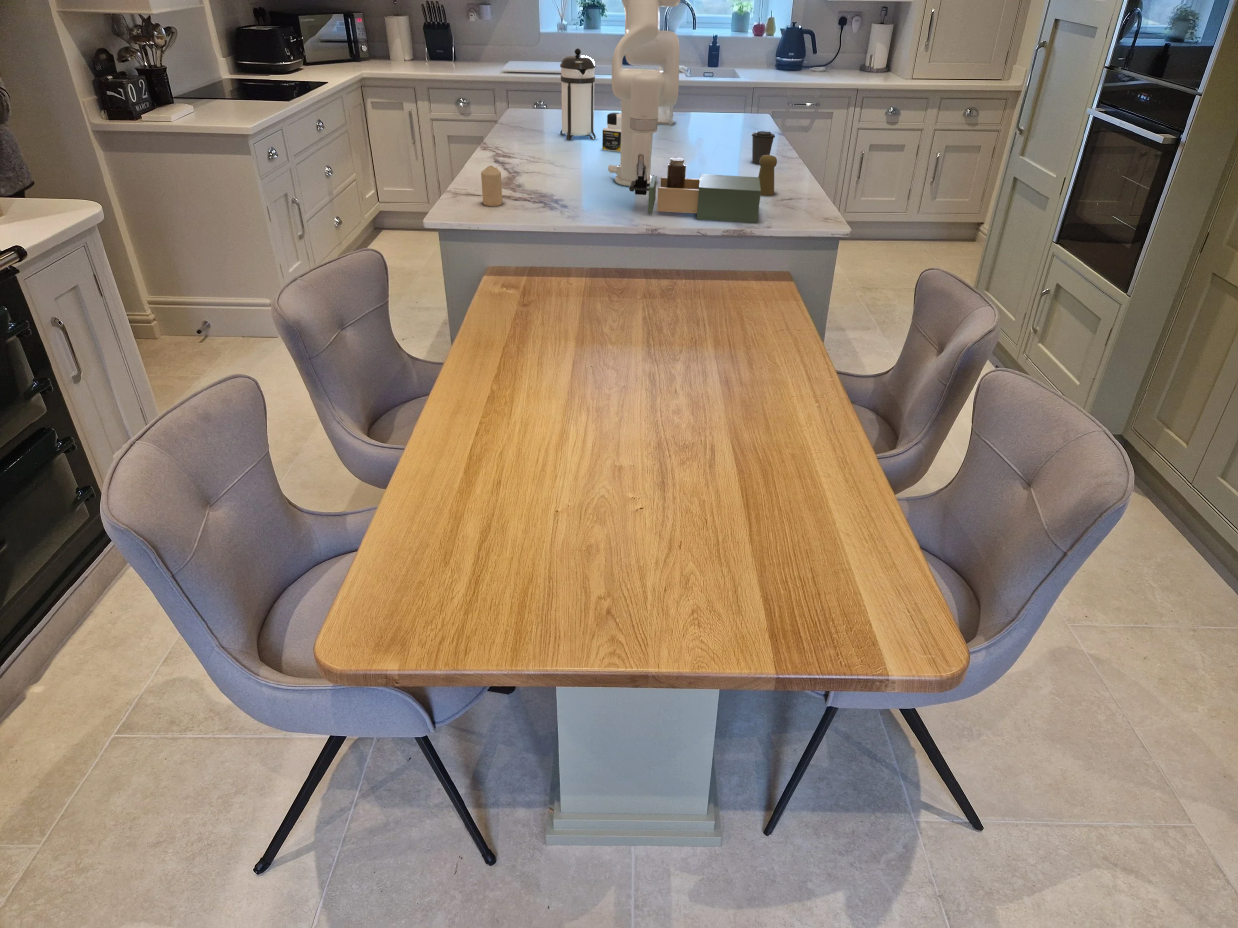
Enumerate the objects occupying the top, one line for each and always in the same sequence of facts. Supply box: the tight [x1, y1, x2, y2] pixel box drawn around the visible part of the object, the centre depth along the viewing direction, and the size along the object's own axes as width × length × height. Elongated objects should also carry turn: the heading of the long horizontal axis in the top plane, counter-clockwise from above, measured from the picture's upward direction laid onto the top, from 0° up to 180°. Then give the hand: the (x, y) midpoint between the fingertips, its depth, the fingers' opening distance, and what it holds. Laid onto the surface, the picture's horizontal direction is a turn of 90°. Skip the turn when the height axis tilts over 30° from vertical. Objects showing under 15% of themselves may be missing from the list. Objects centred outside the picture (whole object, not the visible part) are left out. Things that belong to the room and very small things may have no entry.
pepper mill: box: [666, 156, 687, 189], centre depth 225 cm, size 5×5×12 cm
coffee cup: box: [751, 130, 776, 166], centre depth 277 cm, size 8×8×10 cm
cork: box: [757, 154, 778, 197], centre depth 244 cm, size 6×6×11 cm
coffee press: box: [559, 48, 597, 141], centre depth 299 cm, size 17×16×30 cm
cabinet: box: [696, 173, 762, 224], centre depth 226 cm, size 17×15×9 cm
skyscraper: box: [657, 67, 675, 126], centre depth 326 cm, size 8×8×28 cm
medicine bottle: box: [601, 112, 621, 153], centre depth 287 cm, size 7×7×12 cm
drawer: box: [628, 174, 700, 214], centre depth 227 cm, size 21×13×7 cm, turn 84°
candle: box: [480, 165, 503, 207], centre depth 227 cm, size 6×6×10 cm
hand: (640, 194), depth 228 cm, fingers closed
